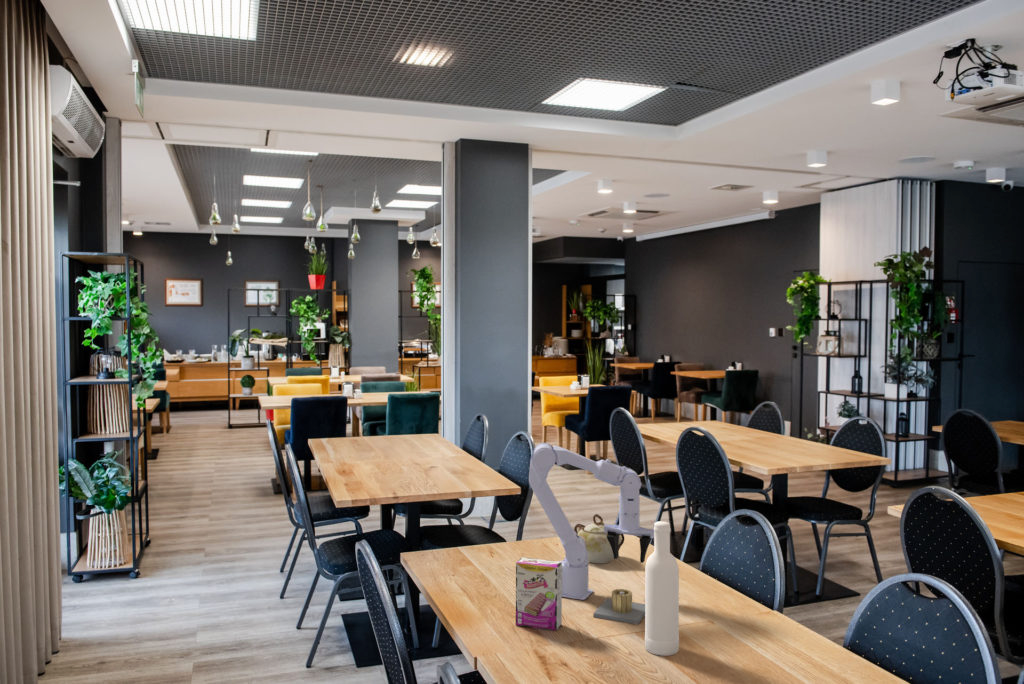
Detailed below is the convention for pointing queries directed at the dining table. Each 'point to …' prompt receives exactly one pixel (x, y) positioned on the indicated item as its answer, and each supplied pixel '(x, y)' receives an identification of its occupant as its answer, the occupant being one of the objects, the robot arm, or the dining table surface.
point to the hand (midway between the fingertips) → (629, 560)
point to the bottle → (662, 595)
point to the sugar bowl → (597, 541)
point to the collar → (621, 601)
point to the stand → (630, 617)
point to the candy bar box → (539, 593)
